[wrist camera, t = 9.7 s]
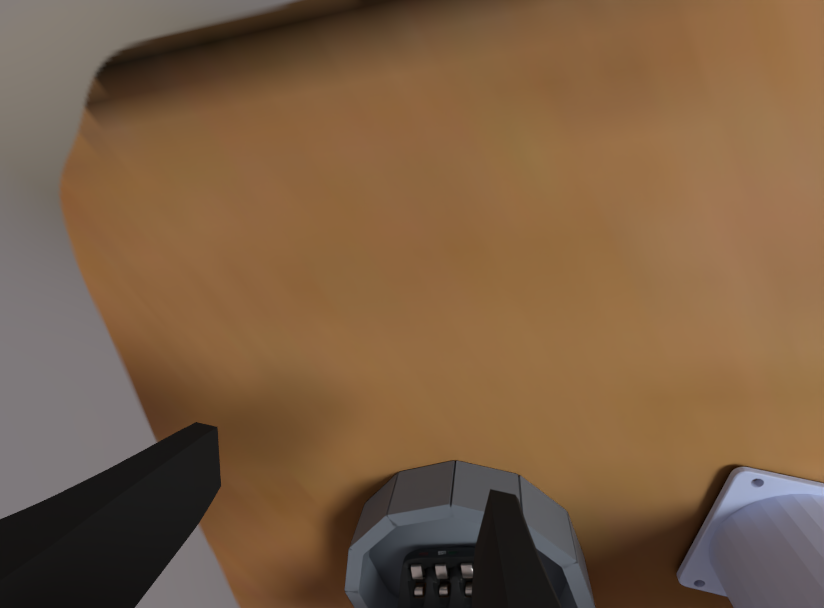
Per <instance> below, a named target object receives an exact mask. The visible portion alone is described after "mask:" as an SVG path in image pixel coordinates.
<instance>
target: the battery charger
mask: <svg viewBox="0 0 824 608" xmlns="http://www.w3.org/2000/svg"><path fill="white" fill-rule="evenodd" d="M474 554H475V547H464V548H440V549H424V550H417V551H413V552H410V553H409V554H407V555H406V556H405V558H404V560H403V565H402V570H401V575H400V588H399V598H398V606H397V608H472V580H473V567H474Z"/></svg>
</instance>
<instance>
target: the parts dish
mask: <svg viewBox="0 0 824 608" xmlns="http://www.w3.org/2000/svg"><path fill="white" fill-rule="evenodd" d="M490 489H493V490H497V491H501V492H506V493H510V494H515V495H516V496H517V498H518V499H519V502H520V505H521V508H522V511H523V514H524V517H525V520H526V523H527V526H528V528H529V531H530V534H531V536H532V539H533V542H534V544H535V547H536V549H537V552H538V554H539V557H540V559H541V561H542V564H543V566H544V568H545V571H546V573H547V575H548V577H549V580H550V582H551V584H552V586H553V589H554V591H555V593H556V595H557V597H558V600H559V602H560V604H561V606H562V608H595V603H594V599H593V594H592V590H591V585H590V581H589V576H588V572H587V567H586V563H585V558H584V555H583V552H582V549H581V547H580V544H579V541H578V539H577V536H576V533H575V531H574V528H573V525H572V522H571V520H570V517H569V514H568V512H567V511H566V510H565V509H564V508H562V507H561V506H560V505H558V504H557V503H556V502H555V501H553V500H552V499H551V498H549V497H548V496H547V495H545V494H544V493H543V492H541V491H540V490H539V489H537V488H536V487H535V486H534V485H532V484H531V483H530V482H528V481H527V480H526V479H524V478H523V477H522V476H518V474H515V473H510V472H506V471H501V470H497V469H492V468H488V467H484V466H479V465H475V464H470V463H466V462H461V461H456V463H455V461H449V462H444V463H439V464H434V465H430V466H425V467H420V468H415V469H410V470H406V471H401V472H399V473H397V474H396V475H395V476H393V477H392V478H391V479H390V480H389V481H388V482H387V483H386V484H385V485H384V486H383V487H382V488H381V489H380V490H379V491H378V492H376V493H375V494H374V495H373V496H372V497H371V498H370V499H369V500H368V501H367V502H366V503H365V505H364V507H363V510H362V513H361V516H360V518H359V521H358V524H357V527H356V530H355V533H354V536H353V539H352V542H351V544H350V547H349V553H348V562H347V572H346V582H345V593H346V594H347V596H348V598H349V599H350V601H351V603H352V604H353V606H354V608H397V606H398V598H399V588H400V575H401V570H402V565H403V560H404V558H405V556H406V555H407V554H409V553H410V552H413V551H417V550H424V549H440V548H464V547H475V546H476V542H477V538H478V534H479V530H480V527H481V523H482V519H483V515H484V511H485V507H486V503H487V500H488V496H489V492H490Z"/></svg>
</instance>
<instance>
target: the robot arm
mask: <svg viewBox="0 0 824 608" xmlns="http://www.w3.org/2000/svg"><path fill="white" fill-rule="evenodd" d="M754 479H757V480H755V481H752V480H754ZM220 487H221V478H220V462H219V446H218V429H217V427H215V426H211V425H206V424H202V423H197V422H196V423H194V424H192V425H190V426H188V427H186V428H184V429H182V430H180V431H178V432H176V433H174V434H172V435H171V436H169V437H167V438H165V439H163V440H161V441H160V442H158V443H156V444H154V445H152V446H150V447H149V448H147V449H145V450H143V451H141V452H139V453H138V454H136V455H134V456H132V457H130V458H128V459H126V460H124V461H122V462H121V463H119V464H117V465H115V466H113V467H111V468H109V469H108V470H105V471H103V472H102V473H99V474H97V475H95V476H94V477H91V478H89V479H87V480H85V481H83V482H81V483H80V484H77V485H75V486H73V487H71V488H69V489H67V490H65V491H63V492H61V493H59V494H57V495H55V496H53V497H51V498H48V499H46V500H44V501H42V502H40V503H38V504H35V505H33V506H31V507H28V508H26V509H24V510H21V511H19V512H17V513H14V514H12V515H10V516H7V517H5V518H2V519H0V608H135V606H136V605H137V604H138V603H139V601H140V600H141V599H142V597H143V596H144V595H145V593H146V592H147V591H148V589H149V588H150V587H151V586H152V584H153V583H154V582H155V580H156V579H157V578H158V576H159V575H160V574H161V573H162V571H163V570H164V569H165V567H166V566H167V565H168V563H169V562H170V561H171V559H172V558H173V557H174V556H175V554H176V553H177V552H178V550H179V549H180V548H181V546H182V545H183V544H184V542H185V541H186V540H187V538H188V537H189V536H190V534H191V533H192V532H193V530H194V529H195V528H196V526H197V525H198V524H199V522H200V520H201V519H202V517H203V516H204V514H205V512H206V511H207V509H208V507H209V506H210V504H211V502H212V501H213V499H214V497H215V495H216V494H217V492H218V490H219V488H220ZM677 578H678V580H679V583H680V584H681V585H683V586H686V587H689V588H694V589H698V590H702V591H706V592H710V593H714V594H718V595H722V596H726V597H728V598H729V600H730V602H731V604H732V606H733V608H824V483H820V482H815V481H811V480H806V479H801V478H796V477H792V476H787V475H782V474H777V473H773V472H768V471H763V470H758V469H754V468H749V467H738V468H735V469H734V470H733V471H732V472H731V473H730V475H729V477H728V479H727V480H726V482H725V484H724V486H723V488H722V490H721V492H720V493H719V495H718V497H717V499H716V501H715V503H714V505H713V506H712V508H711V510H710V512H709V514H708V516H707V518H706V519H705V521H704V523H703V525H702V527H701V529H700V531H699V532H698V534H697V536H696V538H695V540H694V542H693V544H692V545H691V547H690V549H689V551H688V553H687V555H686V557H685V558H684V560H683V562H682V564H681V566H680V568H679V570H678V571H677ZM472 608H562V606H561V604H560V602H559V600H558V597H557V595H556V593H555V591H554V589H553V586H552V584H551V582H550V580H549V577H548V575H547V573H546V571H545V568H544V566H543V564H542V561H541V559H540V557H539V554H538V552H537V549H536V547H535V544H534V542H533V539H532V536H531V534H530V531H529V528H528V526H527V523H526V520H525V517H524V514H523V511H522V508H521V505H520V502H519V499H518V498H517V496H516V495H515V494H510V493H506V492H501V491H497V490H493V489H490V492H489V496H488V500H487V503H486V507H485V511H484V515H483V519H482V523H481V527H480V530H479V534H478V538H477V542H476V546H475V554H474V567H473V580H472Z"/></svg>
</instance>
